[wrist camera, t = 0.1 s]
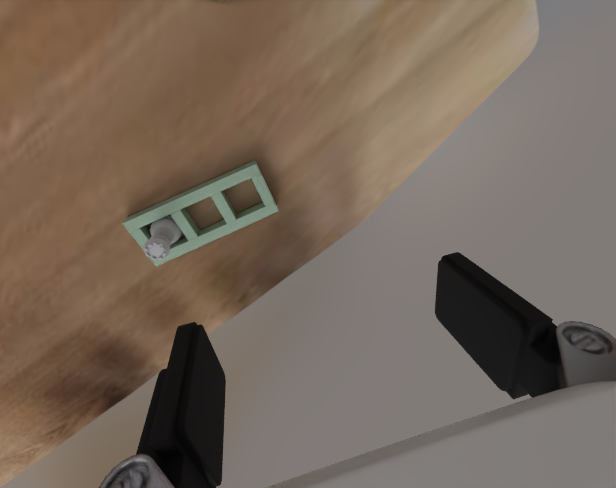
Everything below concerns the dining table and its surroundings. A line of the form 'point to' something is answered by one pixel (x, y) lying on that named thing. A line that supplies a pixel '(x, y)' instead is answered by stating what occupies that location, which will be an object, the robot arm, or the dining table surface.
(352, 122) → the dining table surface
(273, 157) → the dining table surface
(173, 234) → the rook chess piece
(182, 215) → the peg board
